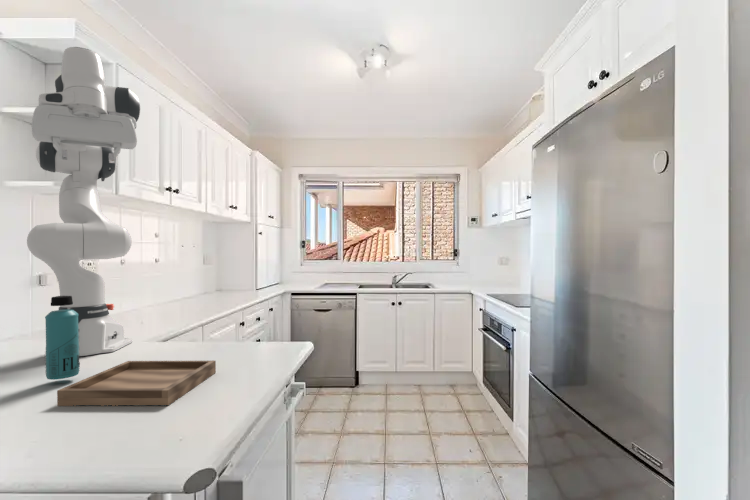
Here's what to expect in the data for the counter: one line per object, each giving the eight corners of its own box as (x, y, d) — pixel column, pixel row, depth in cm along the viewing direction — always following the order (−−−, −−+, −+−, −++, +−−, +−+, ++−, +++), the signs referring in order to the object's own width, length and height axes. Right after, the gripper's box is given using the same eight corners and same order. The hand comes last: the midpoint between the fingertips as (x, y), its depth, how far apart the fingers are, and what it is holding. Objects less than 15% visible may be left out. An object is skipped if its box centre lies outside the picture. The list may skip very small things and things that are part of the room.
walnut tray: (128, 373, 103) (128, 360, 103) (215, 372, 102) (215, 360, 102) (57, 405, 81) (57, 390, 81) (168, 405, 80) (167, 390, 80)
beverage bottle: (61, 387, 93) (60, 297, 93) (37, 385, 94) (36, 297, 94) (87, 378, 99) (86, 294, 99) (64, 377, 100) (63, 294, 100)
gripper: (134, 121, 108) (138, 169, 105) (32, 109, 96) (34, 163, 93) (136, 107, 103) (141, 157, 100) (30, 93, 91) (31, 149, 88)
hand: (88, 160), depth 96 cm, fingers open, 8 cm apart
